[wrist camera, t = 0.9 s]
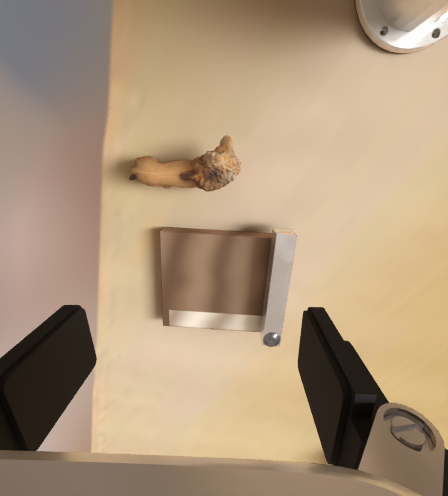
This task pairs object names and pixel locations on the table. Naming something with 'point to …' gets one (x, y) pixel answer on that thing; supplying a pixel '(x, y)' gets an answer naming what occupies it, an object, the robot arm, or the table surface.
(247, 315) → the stool seat
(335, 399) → the robot arm
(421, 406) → the table surface
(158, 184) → the lion figurine
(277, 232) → the folding leg
